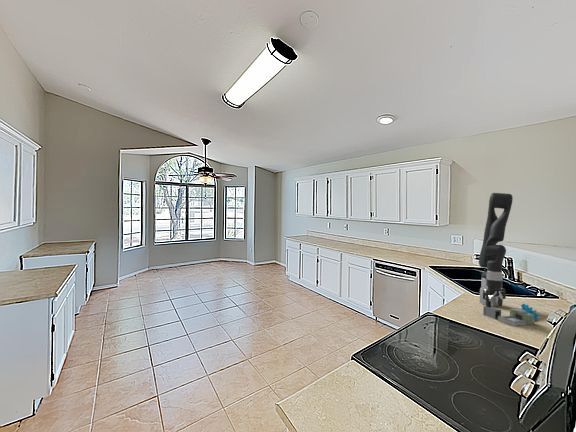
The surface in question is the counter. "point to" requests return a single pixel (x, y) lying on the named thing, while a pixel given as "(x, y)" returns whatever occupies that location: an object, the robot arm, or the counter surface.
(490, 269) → the robot arm
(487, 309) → the grey lidded bin
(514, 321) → the drawer with ball knob
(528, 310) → the gear
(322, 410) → the counter surface
